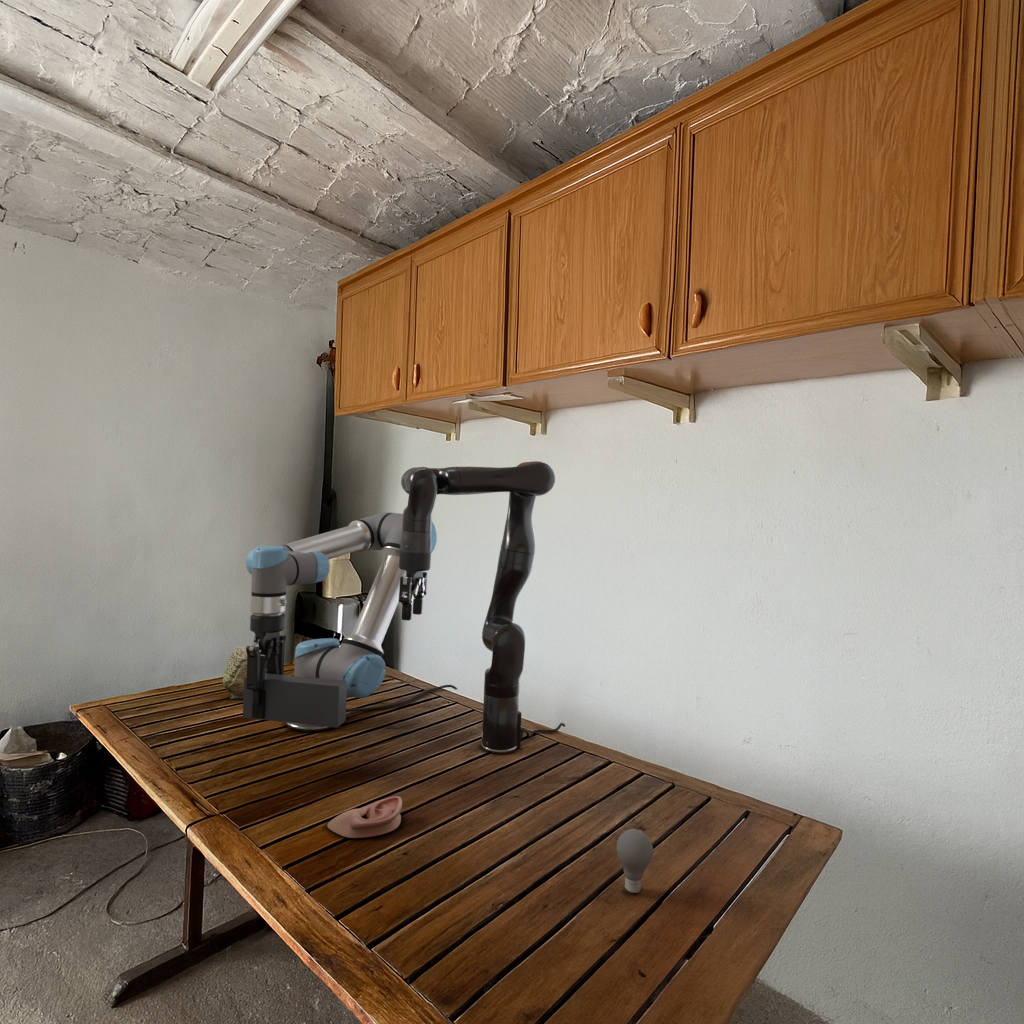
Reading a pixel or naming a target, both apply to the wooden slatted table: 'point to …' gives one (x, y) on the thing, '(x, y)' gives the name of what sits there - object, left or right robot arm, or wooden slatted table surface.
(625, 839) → the light bulb
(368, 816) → the anatomical model
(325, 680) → the bar
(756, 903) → the wooden slatted table surface
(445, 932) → the wooden slatted table surface
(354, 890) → the wooden slatted table surface
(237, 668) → the fossil
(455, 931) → the wooden slatted table surface
